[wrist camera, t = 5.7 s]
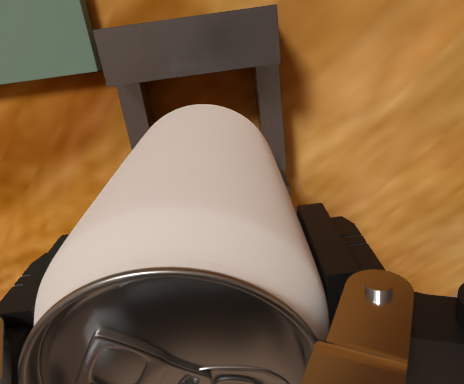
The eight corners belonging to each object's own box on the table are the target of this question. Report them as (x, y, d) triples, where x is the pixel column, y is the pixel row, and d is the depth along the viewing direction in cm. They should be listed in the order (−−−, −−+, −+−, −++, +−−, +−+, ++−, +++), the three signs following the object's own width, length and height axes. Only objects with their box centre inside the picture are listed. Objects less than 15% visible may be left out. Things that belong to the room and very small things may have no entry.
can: (239, 246, 20) (260, 527, 9) (119, 202, 18) (-37, 461, 7) (297, 135, 17) (427, 325, 6) (163, 77, 16) (33, 182, 5)
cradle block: (270, 9, 25) (282, 3, 20) (284, 196, 30) (296, 226, 25) (111, 30, 25) (87, 30, 20) (154, 212, 30) (142, 245, 26)
